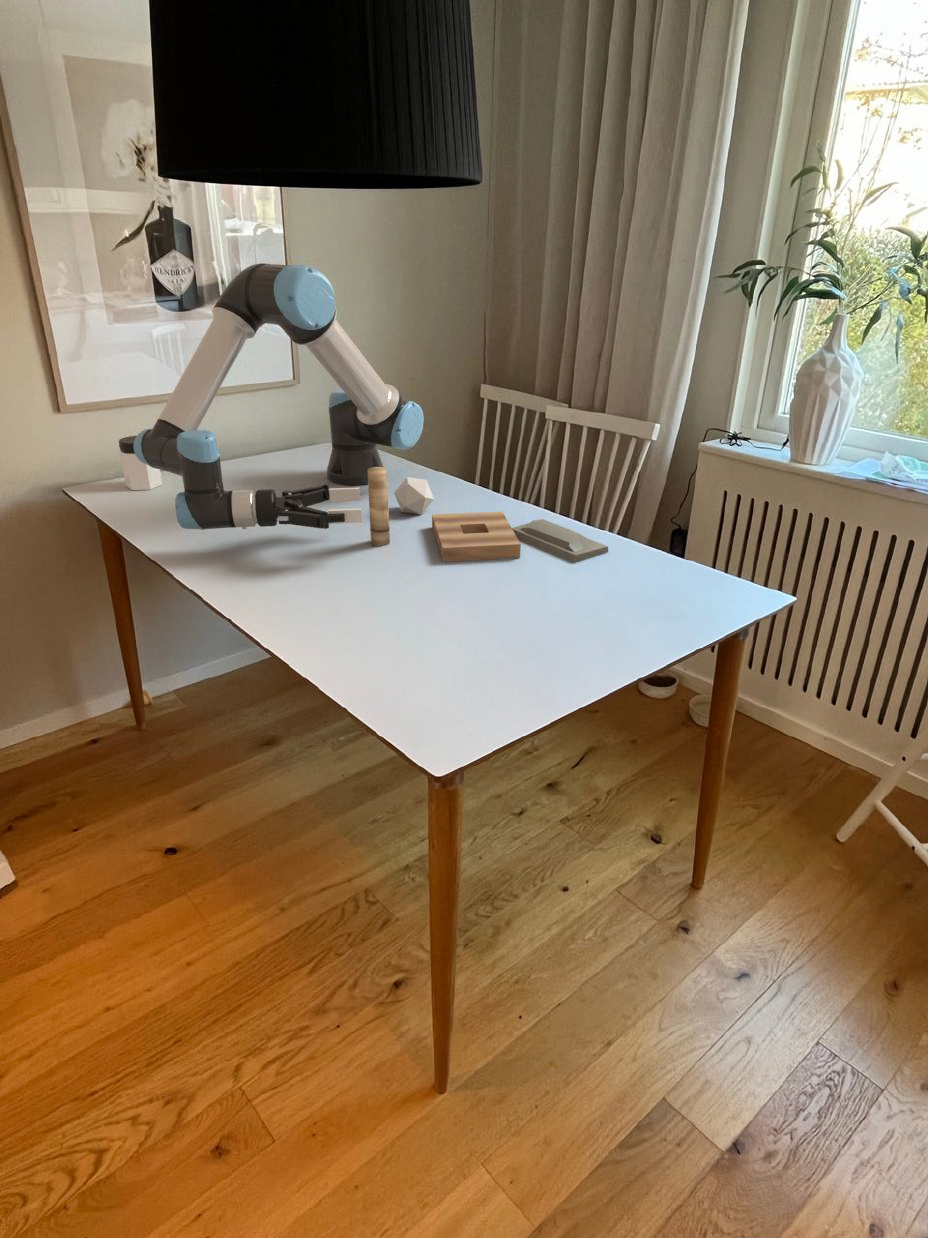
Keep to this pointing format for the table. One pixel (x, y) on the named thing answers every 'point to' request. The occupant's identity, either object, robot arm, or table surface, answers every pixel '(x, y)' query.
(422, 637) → the table surface
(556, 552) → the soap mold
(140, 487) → the jar
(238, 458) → the table surface
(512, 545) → the board
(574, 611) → the table surface
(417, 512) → the die
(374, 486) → the oak leg
